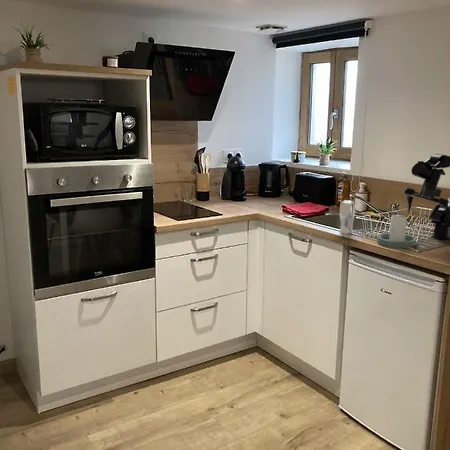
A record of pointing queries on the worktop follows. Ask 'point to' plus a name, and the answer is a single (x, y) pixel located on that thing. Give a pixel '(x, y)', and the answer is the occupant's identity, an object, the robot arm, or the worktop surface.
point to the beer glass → (347, 216)
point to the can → (398, 227)
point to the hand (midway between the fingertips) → (418, 215)
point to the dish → (385, 241)
